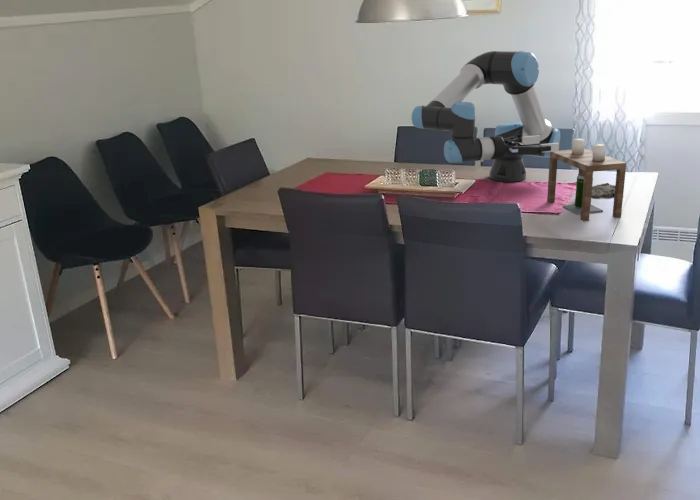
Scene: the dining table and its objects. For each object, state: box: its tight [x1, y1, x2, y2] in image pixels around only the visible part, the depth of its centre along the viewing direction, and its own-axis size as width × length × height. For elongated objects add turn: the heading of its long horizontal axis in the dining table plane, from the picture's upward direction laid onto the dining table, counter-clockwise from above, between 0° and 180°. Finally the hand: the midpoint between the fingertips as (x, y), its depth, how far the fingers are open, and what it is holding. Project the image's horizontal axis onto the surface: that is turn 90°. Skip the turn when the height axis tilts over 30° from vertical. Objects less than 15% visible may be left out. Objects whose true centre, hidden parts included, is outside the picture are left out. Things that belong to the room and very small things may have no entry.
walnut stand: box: [546, 147, 627, 222], centre depth 252 cm, size 26×14×19 cm, turn 13°
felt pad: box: [562, 203, 604, 215], centre depth 255 cm, size 10×10×1 cm
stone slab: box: [591, 182, 615, 199], centre depth 275 cm, size 12×17×3 cm
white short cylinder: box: [571, 137, 586, 155], centre depth 253 cm, size 4×4×5 cm
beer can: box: [574, 173, 594, 209], centre depth 253 cm, size 5×5×12 cm
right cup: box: [592, 143, 606, 161], centre depth 242 cm, size 4×4×5 cm
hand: (548, 143), depth 243 cm, fingers open, 13 cm apart
